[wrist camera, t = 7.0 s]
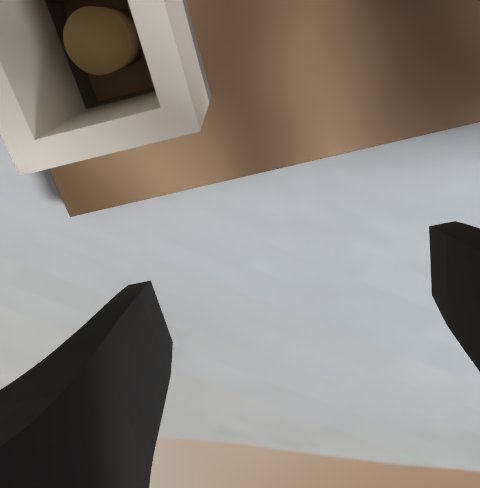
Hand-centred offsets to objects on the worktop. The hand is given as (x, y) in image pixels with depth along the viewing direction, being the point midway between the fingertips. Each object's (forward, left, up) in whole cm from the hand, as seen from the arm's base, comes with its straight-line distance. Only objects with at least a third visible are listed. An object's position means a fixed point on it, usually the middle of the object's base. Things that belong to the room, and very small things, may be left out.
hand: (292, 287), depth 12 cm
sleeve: (+4, -7, -8) cm, 11 cm away
